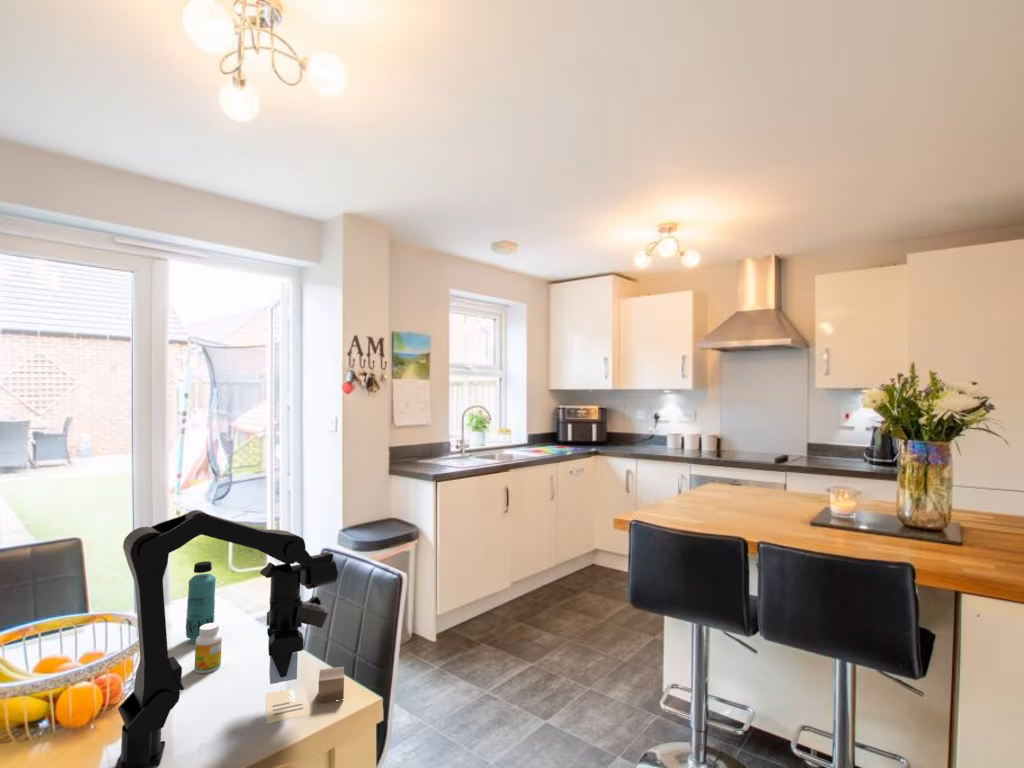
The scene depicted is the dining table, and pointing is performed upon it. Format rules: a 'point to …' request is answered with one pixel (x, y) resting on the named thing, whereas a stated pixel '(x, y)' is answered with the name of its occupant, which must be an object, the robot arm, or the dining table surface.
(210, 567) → the beverage bottle
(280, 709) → the letter
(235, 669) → the dining table surface
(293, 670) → the cube
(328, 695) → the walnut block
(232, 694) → the dining table surface
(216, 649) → the supplement bottle
